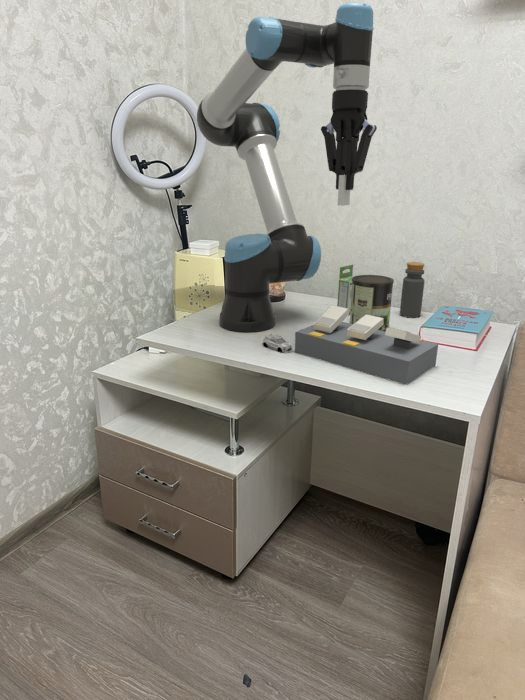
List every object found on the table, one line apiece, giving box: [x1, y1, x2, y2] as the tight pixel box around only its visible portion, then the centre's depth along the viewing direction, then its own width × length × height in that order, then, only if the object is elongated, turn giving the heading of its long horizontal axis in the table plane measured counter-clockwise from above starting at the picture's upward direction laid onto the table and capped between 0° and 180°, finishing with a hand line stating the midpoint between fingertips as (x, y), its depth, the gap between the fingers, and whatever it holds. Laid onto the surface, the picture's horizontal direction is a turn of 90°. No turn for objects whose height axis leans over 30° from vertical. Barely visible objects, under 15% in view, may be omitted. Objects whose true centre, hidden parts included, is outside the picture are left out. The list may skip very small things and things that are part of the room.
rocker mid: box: [347, 315, 384, 340], centre depth 116 cm, size 4×8×2 cm, turn 139°
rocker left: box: [312, 305, 350, 333], centre depth 122 cm, size 4×8×2 cm, turn 139°
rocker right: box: [385, 326, 422, 343], centre depth 111 cm, size 4×8×2 cm, turn 139°
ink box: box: [336, 264, 355, 315], centre depth 153 cm, size 7×4×13 cm, turn 136°
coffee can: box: [349, 274, 395, 332], centre depth 135 cm, size 10×10×14 cm
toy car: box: [261, 332, 294, 354], centre depth 124 cm, size 4×8×3 cm, turn 44°
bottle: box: [399, 261, 425, 319], centre depth 150 cm, size 6×6×15 cm
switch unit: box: [294, 321, 439, 386], centre depth 118 cm, size 28×14×6 cm, turn 49°
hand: (343, 204), depth 120 cm, fingers closed
